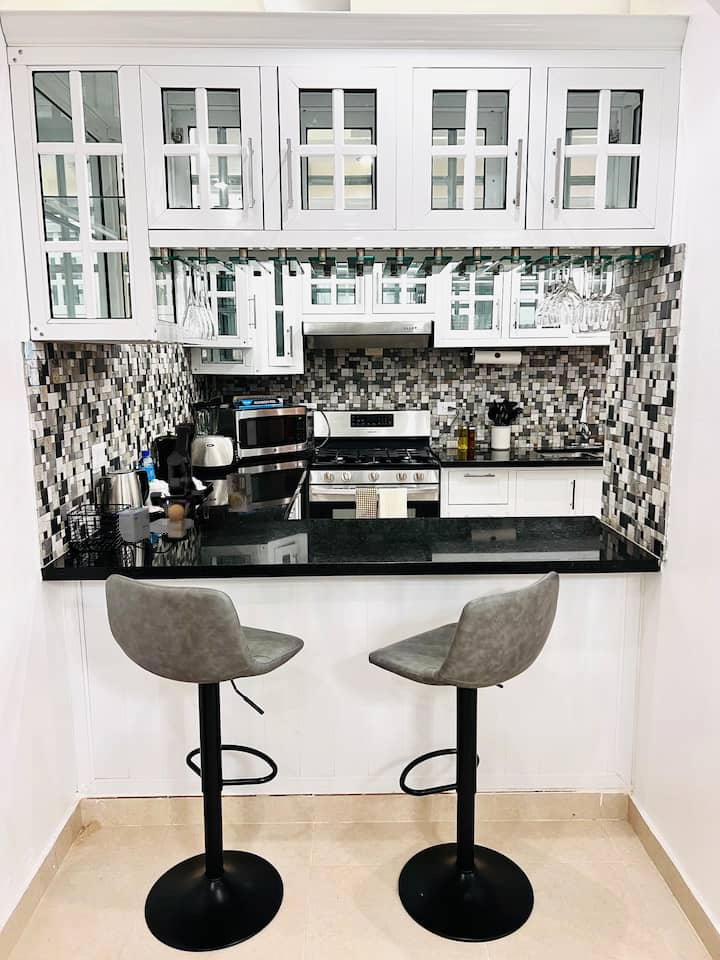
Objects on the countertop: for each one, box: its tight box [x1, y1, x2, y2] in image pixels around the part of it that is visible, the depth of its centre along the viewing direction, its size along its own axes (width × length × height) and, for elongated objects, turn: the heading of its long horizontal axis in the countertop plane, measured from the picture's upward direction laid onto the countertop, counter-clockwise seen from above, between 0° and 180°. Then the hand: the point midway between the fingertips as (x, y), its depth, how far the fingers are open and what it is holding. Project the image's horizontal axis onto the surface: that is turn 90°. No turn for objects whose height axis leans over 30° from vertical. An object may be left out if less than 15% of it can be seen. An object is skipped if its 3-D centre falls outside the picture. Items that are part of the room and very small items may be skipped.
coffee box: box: [226, 472, 254, 513], centre depth 305 cm, size 9×6×16 cm
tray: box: [150, 518, 193, 533], centre depth 268 cm, size 12×12×3 cm
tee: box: [167, 518, 187, 538], centre depth 257 cm, size 5×5×6 cm
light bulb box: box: [116, 507, 151, 544], centre depth 252 cm, size 11×7×11 cm, turn 166°
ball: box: [168, 504, 185, 521], centre depth 256 cm, size 6×6×6 cm
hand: (175, 517), depth 255 cm, fingers closed on ball, 6 cm apart
